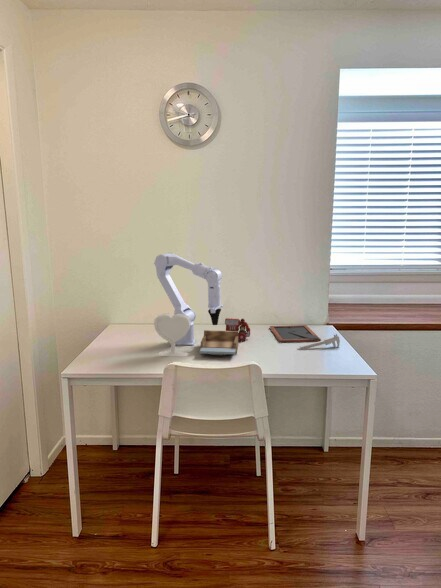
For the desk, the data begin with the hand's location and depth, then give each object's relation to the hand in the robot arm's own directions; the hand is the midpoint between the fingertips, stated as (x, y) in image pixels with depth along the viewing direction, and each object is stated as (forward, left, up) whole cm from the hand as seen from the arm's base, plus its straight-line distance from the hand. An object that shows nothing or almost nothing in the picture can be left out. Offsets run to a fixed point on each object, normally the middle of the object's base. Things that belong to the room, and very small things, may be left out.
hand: (215, 324), depth 191 cm
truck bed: (+3, -4, -10) cm, 11 cm away
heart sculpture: (-17, -12, -11) cm, 24 cm away
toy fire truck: (+10, +12, -11) cm, 19 cm away
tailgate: (+3, -10, -8) cm, 13 cm away
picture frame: (+38, +22, -11) cm, 45 cm away
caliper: (+47, +2, -11) cm, 49 cm away
